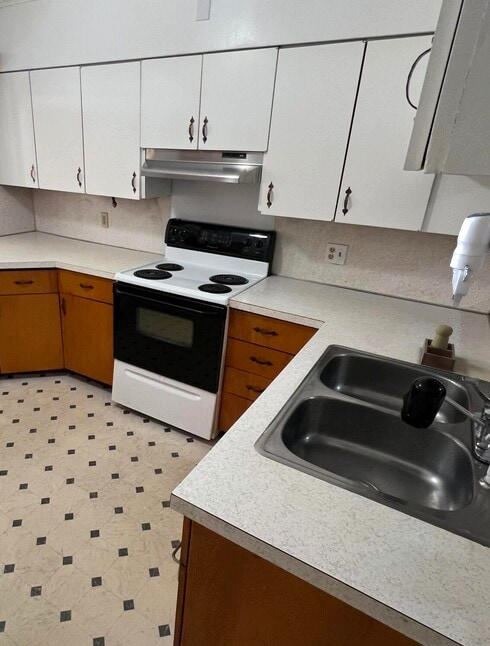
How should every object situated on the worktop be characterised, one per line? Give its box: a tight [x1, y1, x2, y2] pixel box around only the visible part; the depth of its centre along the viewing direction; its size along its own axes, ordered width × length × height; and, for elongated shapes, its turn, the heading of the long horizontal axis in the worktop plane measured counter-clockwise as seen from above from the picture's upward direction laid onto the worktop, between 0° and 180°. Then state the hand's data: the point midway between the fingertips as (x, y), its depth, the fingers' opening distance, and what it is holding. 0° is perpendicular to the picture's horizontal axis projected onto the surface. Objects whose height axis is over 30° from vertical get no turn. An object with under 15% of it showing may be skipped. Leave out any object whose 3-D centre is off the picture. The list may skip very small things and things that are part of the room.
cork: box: [430, 324, 454, 350], centre depth 151 cm, size 6×6×11 cm
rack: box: [420, 338, 456, 373], centre depth 149 cm, size 9×17×5 cm, turn 148°
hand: (454, 303), depth 146 cm, fingers open, 8 cm apart
